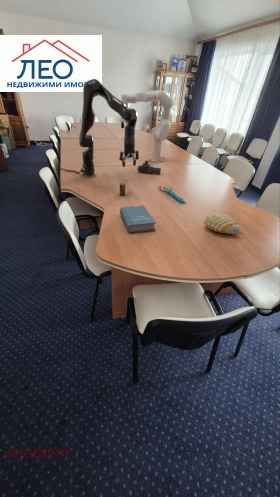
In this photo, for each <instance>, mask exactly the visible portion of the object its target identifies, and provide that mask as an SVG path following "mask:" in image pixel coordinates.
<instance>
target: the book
mask: <svg viewBox="0 0 280 497" xmlns="http://www.w3.org/2000/svg"><path fill="white" fill-rule="evenodd" d="M119 214H120V217H121V219H122V221H123V223H124V226H125V227H126V230H127V232H128V233H141V232H151V231H155V230H156V229H155V224H156V221H155V220H154V218H153V217H152V215H151V214H150V212H149V211H148V209H147V207H146V206H145V205H135V206H134V205H133V206H124V207H123V206H122V207H120V208H119Z"/></svg>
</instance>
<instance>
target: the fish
mask: <svg viewBox="0 0 280 497" xmlns="http://www.w3.org/2000/svg"><path fill="white" fill-rule="evenodd" d="M203 223H204V225H205V226H206V227H207V228H208V229H210V230H212V231H214V232H217V233H222V234H227V235H237V234H239V235H244V234H245V233H244V232H243V231H242V229H241V227H240V225H239V224H238V222H237V219H236V218H235V217H232V216H230V215H229V214H228V213H216V214H210V215H207V216H206V218H205V219H204V220H203Z"/></svg>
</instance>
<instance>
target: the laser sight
mask: <svg viewBox="0 0 280 497" xmlns="http://www.w3.org/2000/svg"><path fill="white" fill-rule="evenodd" d="M149 162H150V160H144V162H143V163H142V164H141V165H140V164H138V166H137V172H139V173H143V174H149V175H150V174H154V175H161V171H162V168H161V167H155V166H152V165H151V164H149Z"/></svg>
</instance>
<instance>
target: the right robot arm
mask: <svg viewBox="0 0 280 497" xmlns="http://www.w3.org/2000/svg"><path fill="white" fill-rule="evenodd" d="M120 101H122V102H123V103H124V104H125V107H127V108H128V109H130V104H133V105H134V104H136V103H141V102H142V103H151V102H160V103H161V106H162V109H163V110H162V111H163V113H162V115H161V117H160V120H159V122H158V128H159V129H155V131H154V132H153V143H152V153H151V154H152V155H151V158H150V162H153V163H161V162H162V160H163V159H165V158H164V156H162V146H163V142H164V141H166V138H167V137H168V134H169V131H170V130H171V122H170V119H171V116H172V108H173V107H174V101H173V99H172V98H171V96H169V95H168V94H167V93H166V92H165V91H164V90H161V89H154V90H147V91H139V92H134V93H132V92H131V93H122V94H120ZM127 122H128V121H126V120H124V119H123V118H122V117H121V116H120V128H121V129H125V126H126V125H127Z"/></svg>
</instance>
